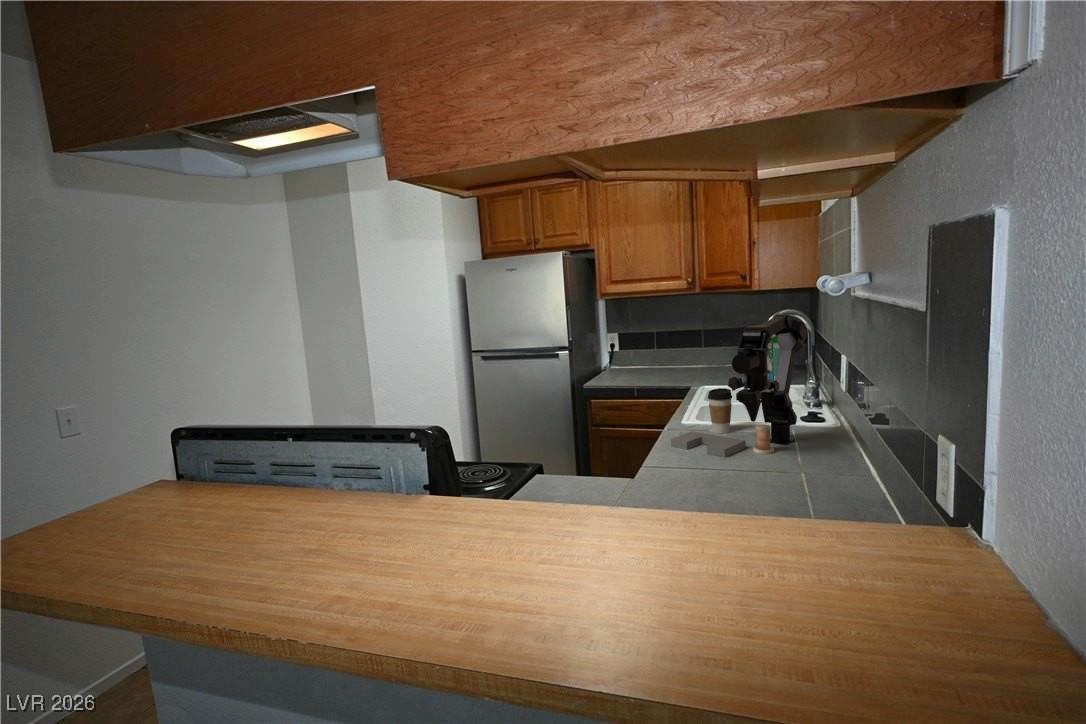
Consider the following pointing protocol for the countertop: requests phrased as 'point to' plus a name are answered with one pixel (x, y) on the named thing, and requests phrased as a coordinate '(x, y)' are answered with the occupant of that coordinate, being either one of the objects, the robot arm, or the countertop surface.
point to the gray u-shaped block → (709, 443)
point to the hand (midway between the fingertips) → (759, 417)
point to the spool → (763, 440)
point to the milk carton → (773, 357)
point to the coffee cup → (720, 409)
